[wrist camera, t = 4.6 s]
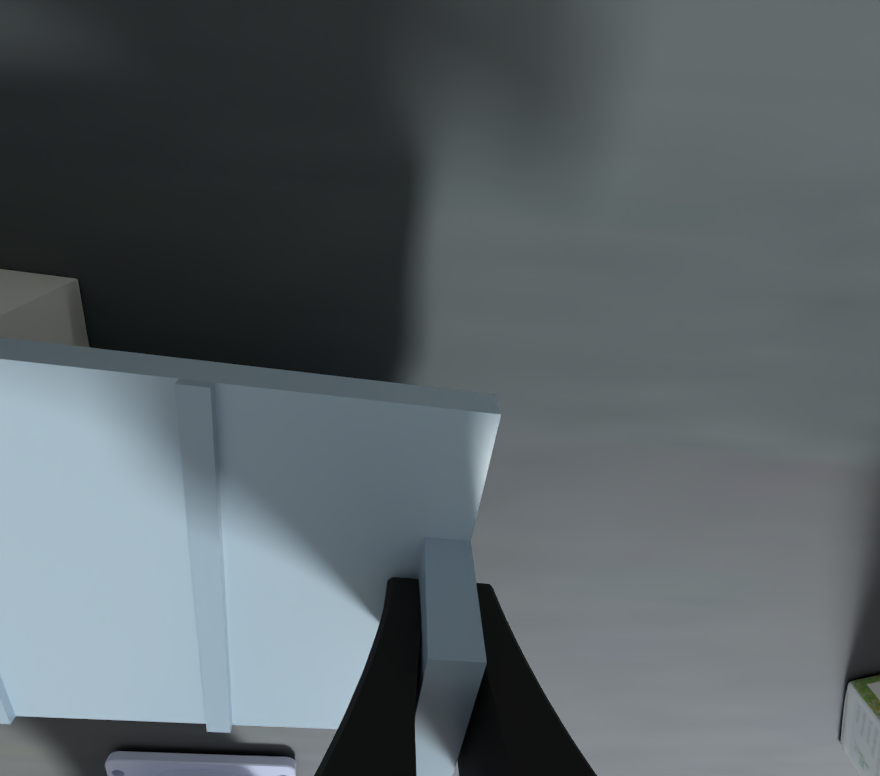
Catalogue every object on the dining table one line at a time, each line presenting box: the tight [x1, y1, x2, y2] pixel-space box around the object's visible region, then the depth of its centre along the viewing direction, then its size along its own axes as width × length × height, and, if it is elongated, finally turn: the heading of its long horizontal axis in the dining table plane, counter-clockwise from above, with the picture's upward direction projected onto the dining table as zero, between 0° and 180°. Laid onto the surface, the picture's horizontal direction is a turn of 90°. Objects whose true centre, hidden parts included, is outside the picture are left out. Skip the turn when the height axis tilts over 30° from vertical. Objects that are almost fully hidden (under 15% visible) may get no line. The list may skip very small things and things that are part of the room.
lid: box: [0, 337, 501, 776], centre depth 10 cm, size 10×16×4 cm, turn 81°
